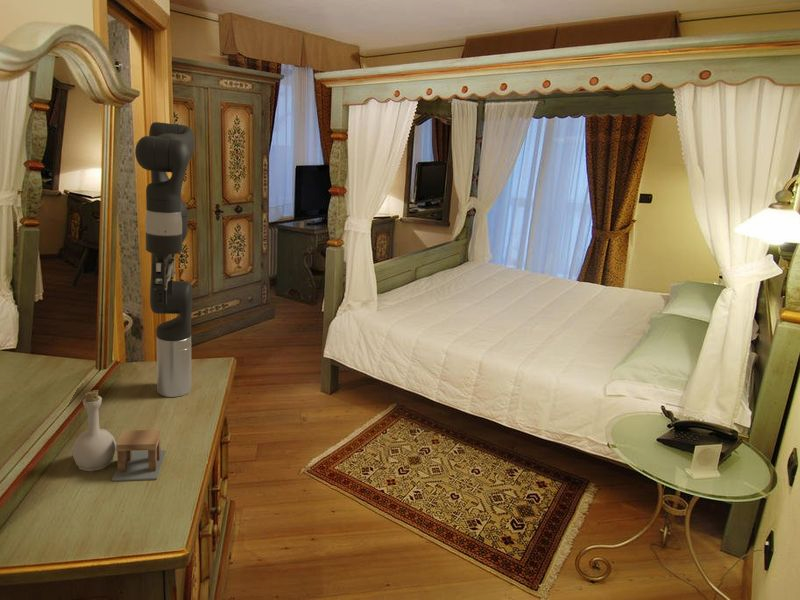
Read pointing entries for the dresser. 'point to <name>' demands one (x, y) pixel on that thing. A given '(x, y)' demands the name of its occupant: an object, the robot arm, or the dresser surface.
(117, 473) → the mat
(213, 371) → the dresser surface
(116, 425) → the dresser surface
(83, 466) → the potion bottle
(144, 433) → the small wooden bench
